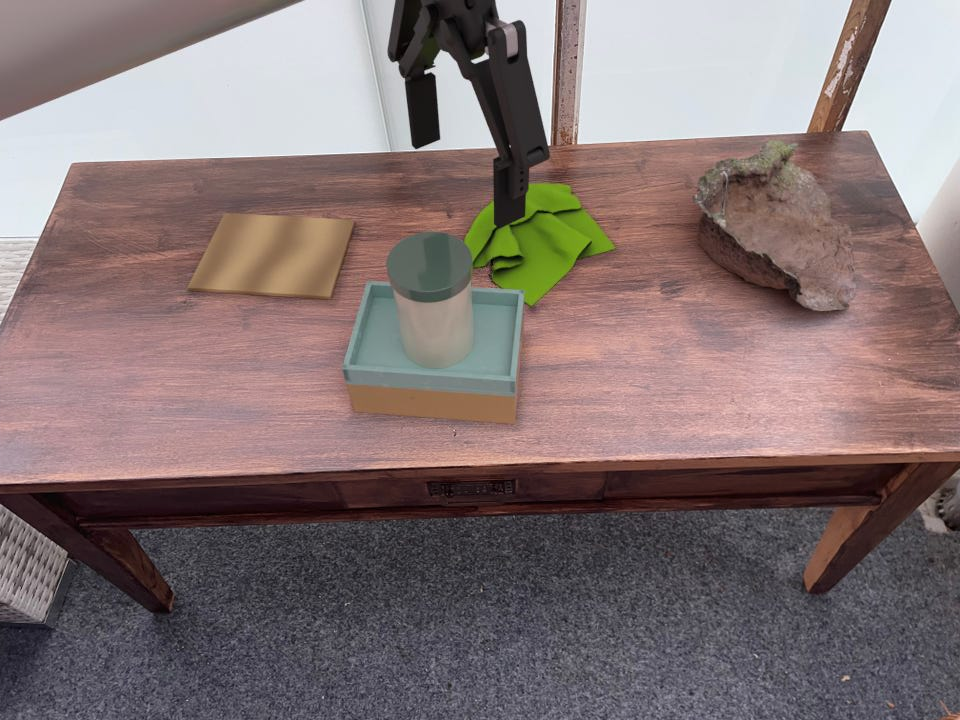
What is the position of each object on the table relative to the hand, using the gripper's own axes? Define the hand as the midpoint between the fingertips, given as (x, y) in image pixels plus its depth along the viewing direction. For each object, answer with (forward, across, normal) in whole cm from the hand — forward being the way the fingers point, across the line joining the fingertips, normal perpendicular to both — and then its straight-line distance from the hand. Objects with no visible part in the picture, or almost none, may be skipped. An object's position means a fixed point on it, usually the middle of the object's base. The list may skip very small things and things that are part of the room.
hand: (465, 179), depth 65 cm
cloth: (+23, +10, -15) cm, 30 cm away
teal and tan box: (+23, -1, +5) cm, 24 cm away
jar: (+17, -1, +5) cm, 18 cm away
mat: (+23, +27, +13) cm, 38 cm away
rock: (+23, -9, -38) cm, 45 cm away
